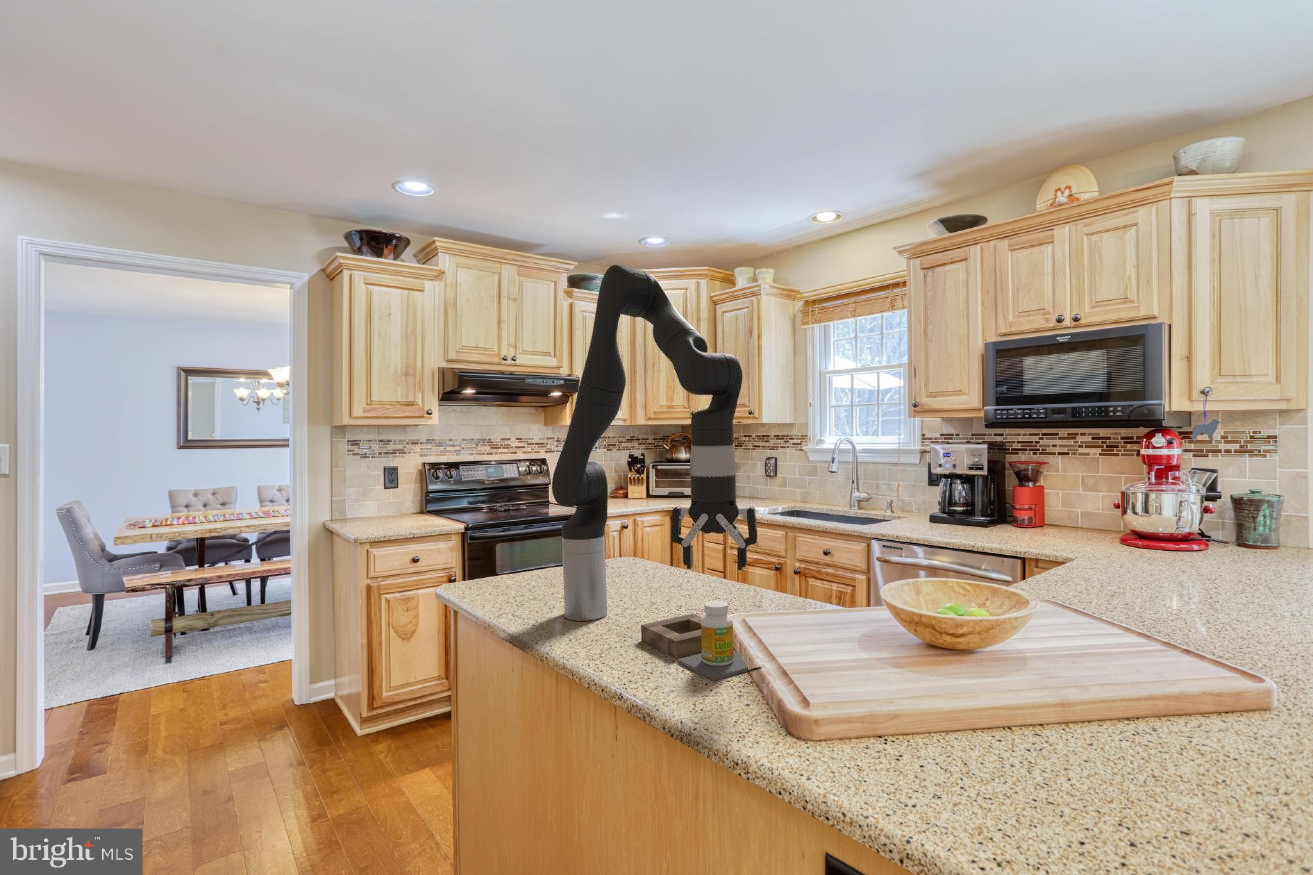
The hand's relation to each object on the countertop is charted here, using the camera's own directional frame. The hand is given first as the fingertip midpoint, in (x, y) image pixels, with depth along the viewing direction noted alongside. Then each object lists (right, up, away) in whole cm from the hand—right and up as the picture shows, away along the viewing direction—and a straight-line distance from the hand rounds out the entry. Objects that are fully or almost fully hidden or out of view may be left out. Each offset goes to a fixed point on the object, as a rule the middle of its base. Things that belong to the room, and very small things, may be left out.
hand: (714, 568), depth 111 cm
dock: (-4, -16, +12) cm, 21 cm away
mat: (+1, -16, 0) cm, 16 cm away
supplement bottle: (+1, -16, +1) cm, 16 cm away
